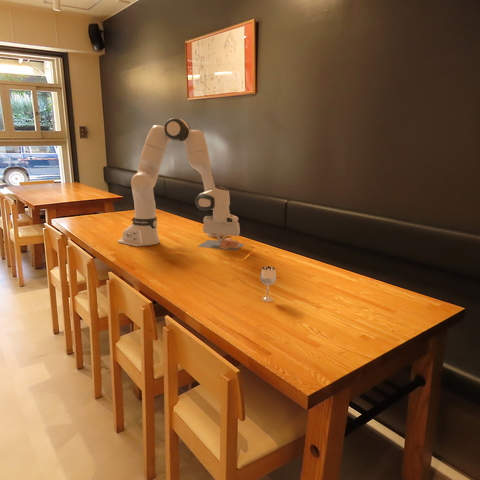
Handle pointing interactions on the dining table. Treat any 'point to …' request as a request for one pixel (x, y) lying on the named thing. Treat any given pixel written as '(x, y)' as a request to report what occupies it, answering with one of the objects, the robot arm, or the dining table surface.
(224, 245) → the t block
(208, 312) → the dining table surface
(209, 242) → the t mat
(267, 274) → the wineglass
